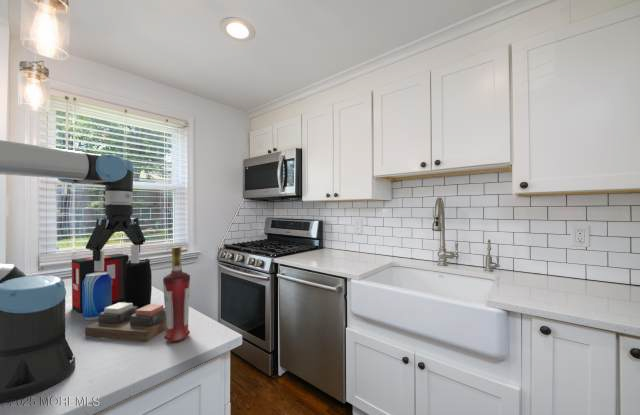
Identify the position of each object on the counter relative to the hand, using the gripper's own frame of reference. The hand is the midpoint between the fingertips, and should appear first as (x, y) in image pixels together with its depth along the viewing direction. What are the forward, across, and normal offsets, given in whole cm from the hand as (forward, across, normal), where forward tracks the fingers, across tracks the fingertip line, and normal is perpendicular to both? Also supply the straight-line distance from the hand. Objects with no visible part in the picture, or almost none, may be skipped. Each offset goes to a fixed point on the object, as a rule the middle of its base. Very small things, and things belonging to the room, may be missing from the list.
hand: (118, 266), depth 91 cm
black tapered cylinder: (+20, +16, +7) cm, 27 cm away
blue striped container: (+21, +8, +16) cm, 27 cm away
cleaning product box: (+20, +19, +27) cm, 39 cm away
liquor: (+21, -5, -26) cm, 33 cm away
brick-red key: (+15, -1, -13) cm, 20 cm away
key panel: (+20, 0, -7) cm, 21 cm away
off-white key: (+15, 0, -1) cm, 15 cm away
